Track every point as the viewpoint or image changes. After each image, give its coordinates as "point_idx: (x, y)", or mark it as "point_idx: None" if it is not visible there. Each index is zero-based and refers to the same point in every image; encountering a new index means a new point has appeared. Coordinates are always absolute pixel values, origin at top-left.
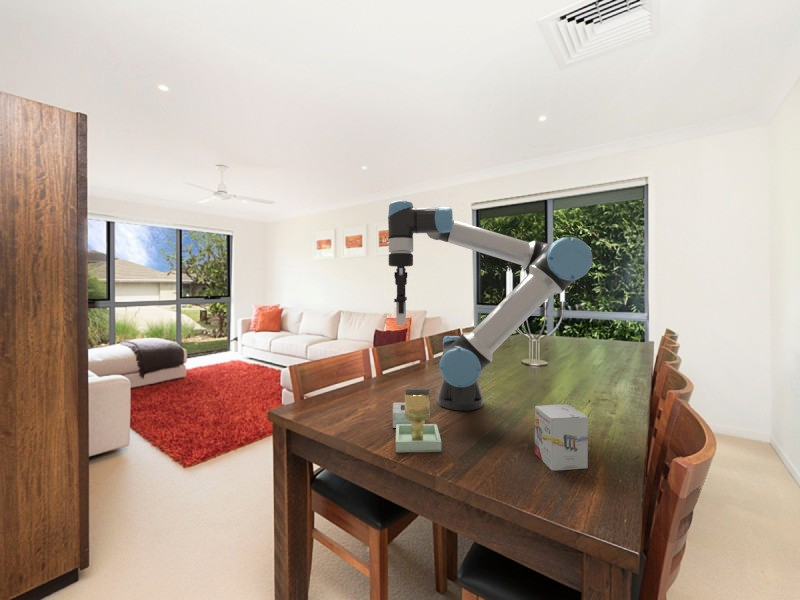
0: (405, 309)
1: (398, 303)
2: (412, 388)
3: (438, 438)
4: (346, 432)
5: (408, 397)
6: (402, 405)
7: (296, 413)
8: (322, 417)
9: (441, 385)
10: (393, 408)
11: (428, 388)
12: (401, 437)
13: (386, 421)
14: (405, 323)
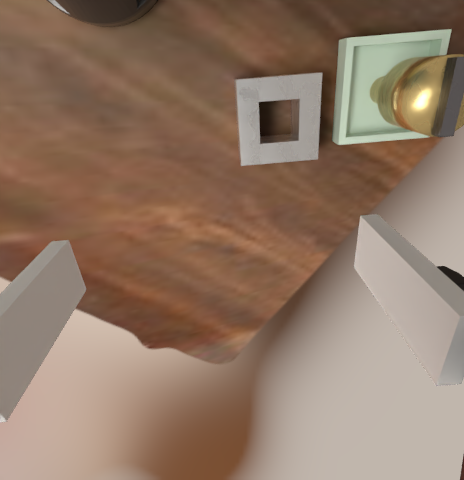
0: (440, 272)
1: (458, 361)
2: (444, 114)
3: (433, 36)
4: (319, 235)
5: (462, 123)
6: (259, 139)
7: (229, 333)
8: (246, 290)
9: (87, 1)
10: (285, 160)
11: (458, 58)
12: (364, 127)
13: (264, 169)
14: (381, 220)
